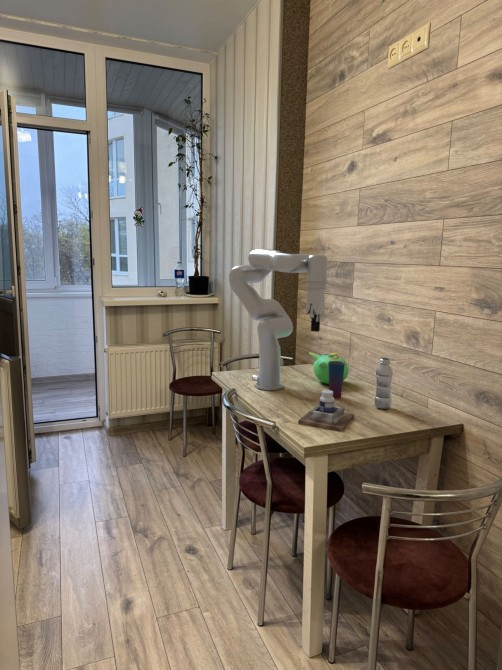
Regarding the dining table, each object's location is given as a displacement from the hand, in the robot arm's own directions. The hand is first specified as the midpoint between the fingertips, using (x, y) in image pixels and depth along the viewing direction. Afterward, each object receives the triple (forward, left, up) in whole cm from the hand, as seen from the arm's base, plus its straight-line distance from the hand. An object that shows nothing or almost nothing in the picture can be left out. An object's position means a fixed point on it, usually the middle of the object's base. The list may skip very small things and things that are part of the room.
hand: (315, 330), depth 193 cm
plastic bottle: (+28, +3, -29) cm, 41 cm away
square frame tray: (+13, -21, -29) cm, 38 cm away
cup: (+7, +8, -29) cm, 31 cm away
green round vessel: (-2, +27, -29) cm, 40 cm away
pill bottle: (+13, -21, -28) cm, 37 cm away
